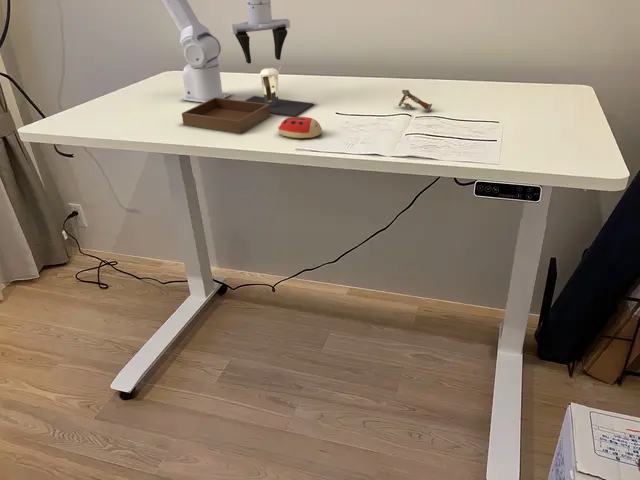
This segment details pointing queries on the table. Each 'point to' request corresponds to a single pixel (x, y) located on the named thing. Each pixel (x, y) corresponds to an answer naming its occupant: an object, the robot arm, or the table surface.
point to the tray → (226, 115)
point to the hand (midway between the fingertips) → (263, 60)
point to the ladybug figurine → (300, 127)
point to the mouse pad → (284, 106)
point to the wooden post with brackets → (415, 99)
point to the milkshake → (270, 85)
